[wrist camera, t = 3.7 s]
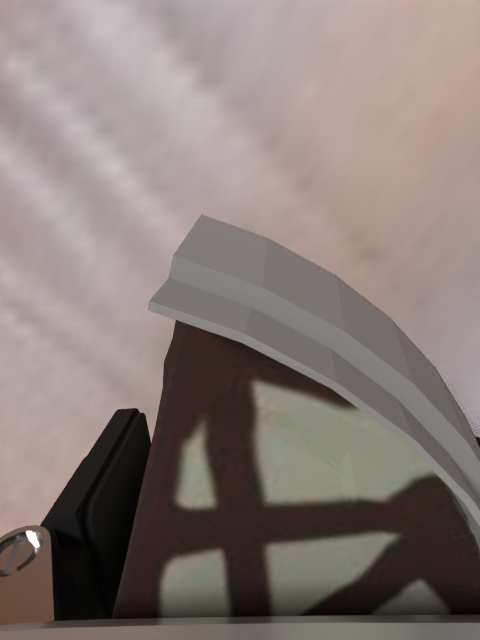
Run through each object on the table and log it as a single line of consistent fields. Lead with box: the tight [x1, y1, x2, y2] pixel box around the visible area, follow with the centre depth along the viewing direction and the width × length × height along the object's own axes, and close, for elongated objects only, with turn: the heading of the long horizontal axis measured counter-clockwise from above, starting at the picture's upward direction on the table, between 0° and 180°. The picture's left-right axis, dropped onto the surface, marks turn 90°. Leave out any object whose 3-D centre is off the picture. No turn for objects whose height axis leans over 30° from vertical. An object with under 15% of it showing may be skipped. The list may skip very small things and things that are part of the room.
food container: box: [112, 215, 480, 619], centre depth 10 cm, size 12×6×10 cm, turn 165°
